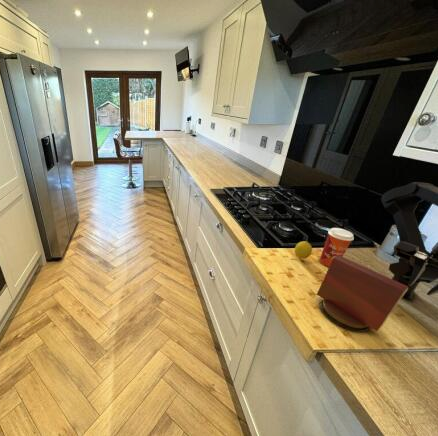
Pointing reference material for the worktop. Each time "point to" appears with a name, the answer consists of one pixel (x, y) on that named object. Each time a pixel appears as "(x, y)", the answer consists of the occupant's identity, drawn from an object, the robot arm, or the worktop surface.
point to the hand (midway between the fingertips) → (418, 289)
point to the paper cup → (335, 245)
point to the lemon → (303, 250)
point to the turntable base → (341, 323)
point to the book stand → (359, 294)
